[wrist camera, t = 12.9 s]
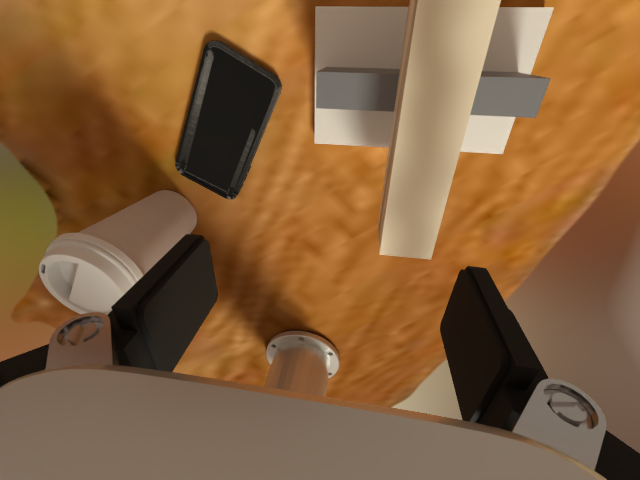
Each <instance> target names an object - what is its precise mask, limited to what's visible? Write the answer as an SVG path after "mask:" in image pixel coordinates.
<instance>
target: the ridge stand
mask: <svg viewBox="0 0 640 480" xmlns="http://www.w3.org/2000/svg"><path fill="white" fill-rule="evenodd" d="M408 8H409V7H355V6H315V143H318V144H336V145H353V146H371V147H389V144H390V136H391V129H392V122H393V115H394V108H395V101H396V93H397V86H398V79H399V72H400V65H401V58H402V51H403V43H404V36H405V29H406V22H407V15H408ZM553 9H554V7H499V10H498V13H497V17H496V21H495V24H494V28H493V32H492V35H491V39H490V43H489V47H488V50H487V54H486V58H485V61H484V65H483V69H482V72H481V76H480V80H479V83H478V87H477V91H476V95H475V98H474V102H473V106H472V109H471V113H470V117H469V120H468V124H467V128H466V132H465V135H464V139H463V143H462V146H461V150H460V152H476V153H494V154H503V151H504V148H505V146H506V143H507V140H508V137H509V134H510V131H511V128H512V126H513V123H514V120H515V117H528V118H536V115H537V113H538V110H539V108H540V105H541V102H542V100H543V97H544V95H545V92H546V89H547V87H548V84H549V82H550V78H545V77H540V76H535V75H530V74H531V71H532V69H533V66H534V63H535V60H536V57H537V54H538V51H539V49H540V46H541V43H542V40H543V37H544V34H545V31H546V29H547V26H548V23H549V20H550V17H551V14H552V11H553Z"/></svg>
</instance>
